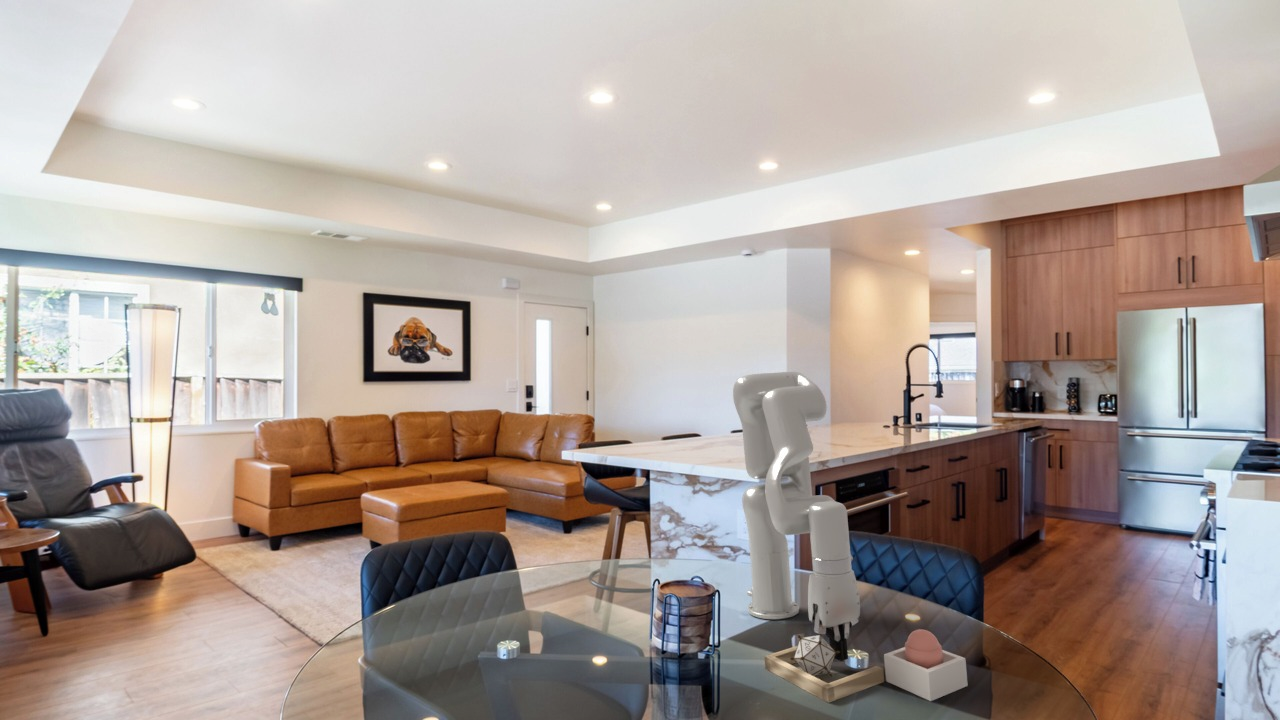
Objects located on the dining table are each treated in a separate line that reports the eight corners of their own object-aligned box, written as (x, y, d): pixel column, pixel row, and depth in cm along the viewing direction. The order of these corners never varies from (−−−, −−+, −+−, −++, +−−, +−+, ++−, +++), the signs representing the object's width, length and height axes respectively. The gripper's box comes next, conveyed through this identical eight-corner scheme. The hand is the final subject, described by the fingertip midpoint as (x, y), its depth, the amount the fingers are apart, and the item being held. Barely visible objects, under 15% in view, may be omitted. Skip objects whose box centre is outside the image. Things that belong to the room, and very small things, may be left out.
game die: (826, 698, 131) (839, 669, 125) (783, 680, 133) (793, 650, 127) (833, 659, 138) (846, 630, 132) (792, 643, 140) (803, 613, 134)
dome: (898, 660, 128) (896, 629, 128) (921, 651, 131) (919, 621, 131) (927, 672, 122) (924, 639, 122) (950, 662, 125) (948, 631, 125)
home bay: (765, 668, 137) (764, 656, 137) (817, 651, 144) (816, 639, 144) (828, 702, 121) (827, 688, 121) (884, 681, 128) (883, 668, 128)
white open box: (886, 681, 128) (883, 654, 128) (922, 667, 133) (920, 641, 133) (930, 701, 119) (928, 672, 120) (967, 685, 124) (965, 658, 124)
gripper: (845, 554, 142) (852, 643, 141) (790, 568, 135) (797, 661, 134) (873, 561, 135) (880, 654, 135) (816, 576, 128) (824, 674, 128)
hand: (839, 657), depth 135 cm, fingers closed
